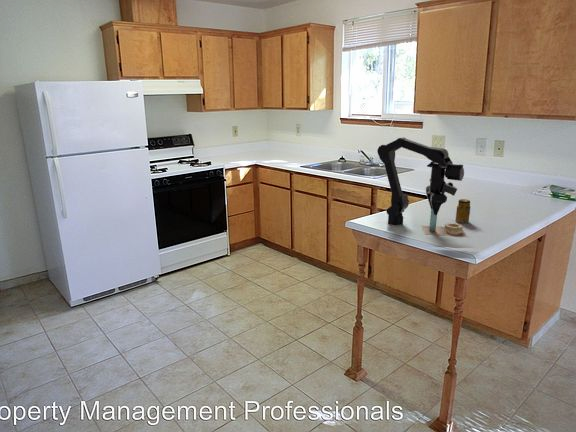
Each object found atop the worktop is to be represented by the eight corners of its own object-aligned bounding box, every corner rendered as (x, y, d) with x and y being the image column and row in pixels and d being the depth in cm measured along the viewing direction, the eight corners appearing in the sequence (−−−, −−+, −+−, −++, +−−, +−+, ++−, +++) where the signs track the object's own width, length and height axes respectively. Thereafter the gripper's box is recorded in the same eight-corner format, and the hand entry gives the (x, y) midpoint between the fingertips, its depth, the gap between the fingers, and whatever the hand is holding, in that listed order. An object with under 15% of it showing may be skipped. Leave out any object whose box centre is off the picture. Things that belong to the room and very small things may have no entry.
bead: (446, 233, 191) (447, 227, 190) (443, 228, 197) (444, 222, 196) (462, 234, 190) (463, 228, 189) (459, 229, 196) (460, 223, 195)
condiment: (457, 221, 213) (460, 197, 210) (475, 224, 207) (478, 200, 204) (451, 224, 208) (454, 200, 204) (469, 228, 202) (472, 203, 199)
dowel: (429, 231, 194) (431, 210, 191) (428, 229, 196) (430, 208, 193) (436, 231, 193) (438, 210, 190) (435, 229, 196) (437, 208, 193)
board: (424, 237, 190) (425, 234, 190) (420, 228, 202) (421, 225, 202) (467, 239, 187) (467, 236, 187) (460, 229, 200) (461, 227, 199)
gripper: (461, 183, 178) (457, 219, 182) (452, 174, 195) (448, 207, 200) (433, 182, 180) (429, 217, 184) (427, 173, 197) (423, 206, 202)
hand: (433, 212), depth 192 cm, fingers open, 9 cm apart
